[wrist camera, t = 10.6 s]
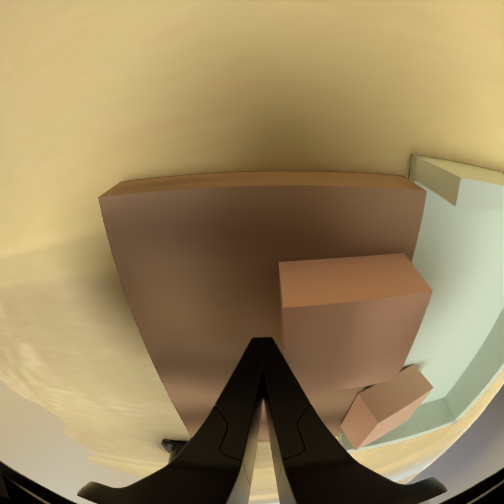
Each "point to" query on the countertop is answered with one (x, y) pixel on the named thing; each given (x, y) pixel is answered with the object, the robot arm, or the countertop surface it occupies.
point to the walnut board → (241, 264)
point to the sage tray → (455, 293)
